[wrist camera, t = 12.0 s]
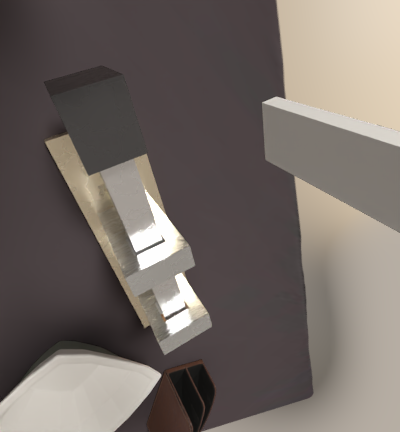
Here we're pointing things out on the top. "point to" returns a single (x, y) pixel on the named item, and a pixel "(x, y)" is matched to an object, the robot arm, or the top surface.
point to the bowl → (76, 391)
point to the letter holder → (183, 399)
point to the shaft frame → (123, 251)
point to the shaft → (113, 156)
